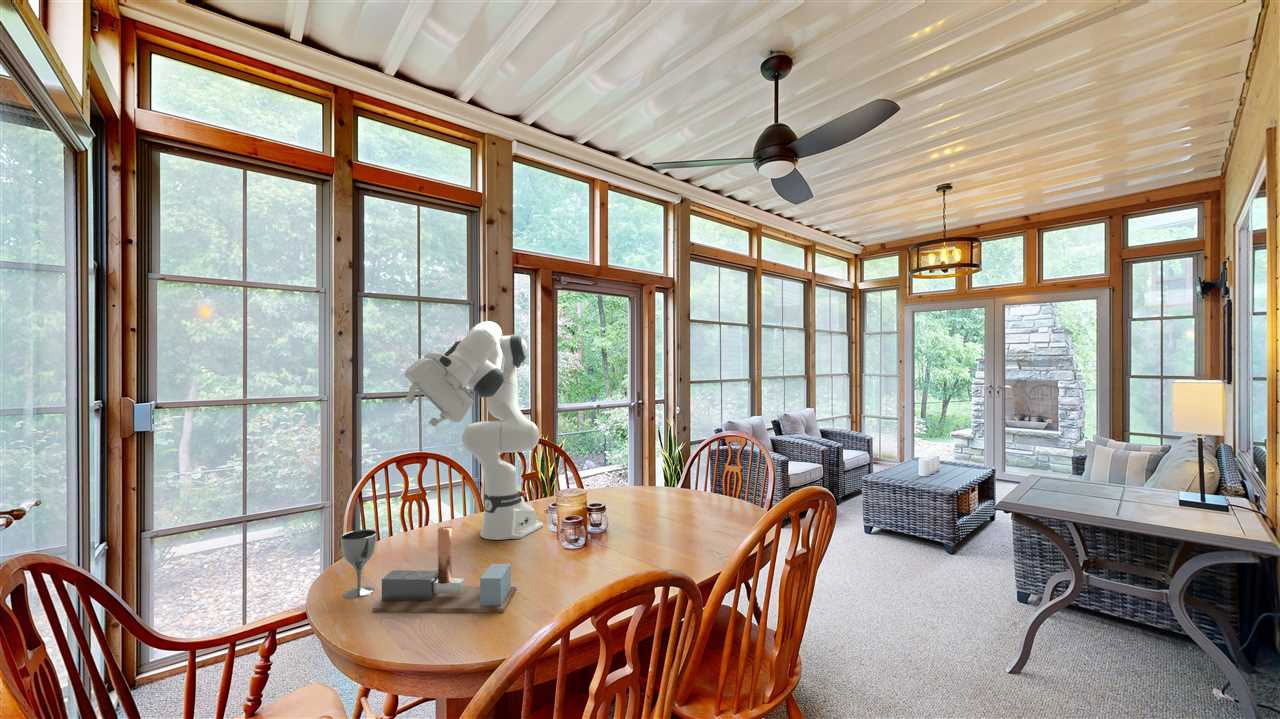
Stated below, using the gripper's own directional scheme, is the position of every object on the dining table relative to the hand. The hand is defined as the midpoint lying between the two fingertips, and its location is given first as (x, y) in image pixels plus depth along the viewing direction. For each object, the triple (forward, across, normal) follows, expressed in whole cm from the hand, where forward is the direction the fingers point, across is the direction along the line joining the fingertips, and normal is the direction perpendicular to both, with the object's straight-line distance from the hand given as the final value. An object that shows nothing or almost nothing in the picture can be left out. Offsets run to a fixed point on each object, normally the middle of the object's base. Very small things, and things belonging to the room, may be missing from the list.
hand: (419, 413), depth 137 cm
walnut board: (+32, -33, +12) cm, 47 cm away
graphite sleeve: (+35, -28, +5) cm, 45 cm away
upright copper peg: (+33, -29, +8) cm, 44 cm away
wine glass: (+41, -25, -10) cm, 49 cm away
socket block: (+26, -37, +22) cm, 50 cm away
